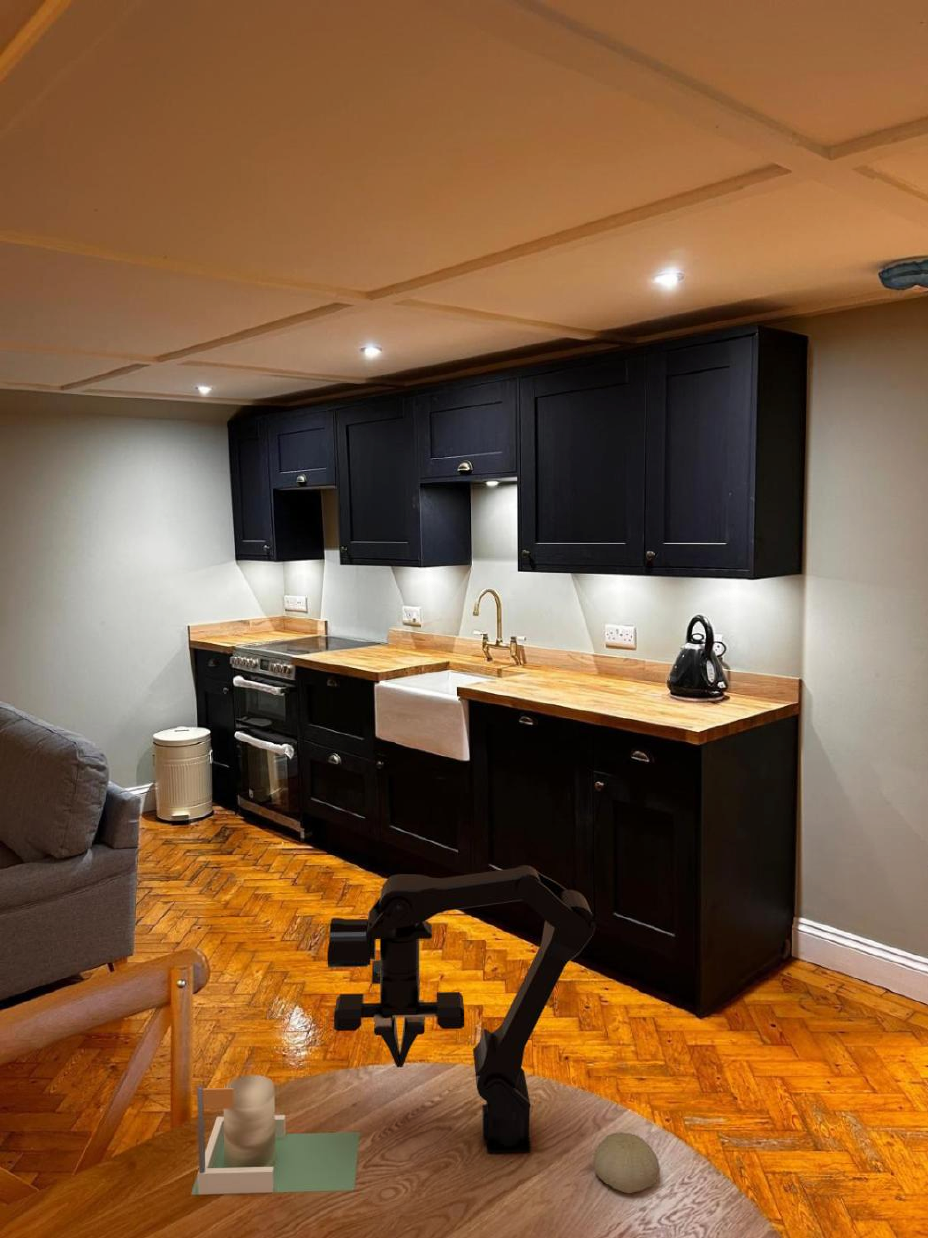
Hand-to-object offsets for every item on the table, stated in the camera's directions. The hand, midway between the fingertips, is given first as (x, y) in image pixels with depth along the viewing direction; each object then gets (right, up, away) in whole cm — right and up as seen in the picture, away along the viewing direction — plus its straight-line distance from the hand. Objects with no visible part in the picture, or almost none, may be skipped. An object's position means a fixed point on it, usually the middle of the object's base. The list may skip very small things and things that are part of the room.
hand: (399, 1065), depth 136 cm
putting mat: (-17, -12, -5) cm, 21 cm away
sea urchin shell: (+32, -13, -5) cm, 35 cm away
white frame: (-22, -11, -5) cm, 25 cm away
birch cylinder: (-21, -11, -5) cm, 24 cm away
